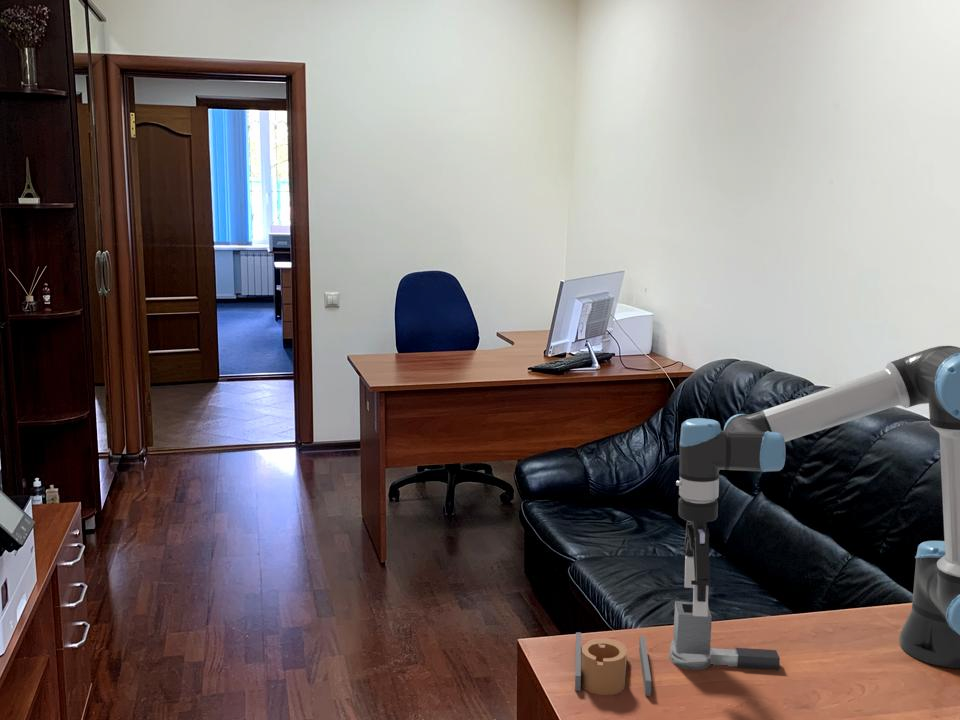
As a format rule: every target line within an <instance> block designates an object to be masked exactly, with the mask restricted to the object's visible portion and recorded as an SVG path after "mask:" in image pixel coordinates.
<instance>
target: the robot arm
mask: <svg viewBox="0 0 960 720" xmlns="http://www.w3.org/2000/svg"><path fill="white" fill-rule="evenodd" d="M925 404H928V412H929V426H930V427H931V428H933V430H935V431H936V432H937V433H938V434H939V449H940V450H939V451H940V453H939V454H940V471H941V473H940V475H941V492H942V495H941V496H942V515H943V536H944V537H943V538H944V540H927V541H923V542H921V543H920V544H918V546H917V551H916V555H915V556H914V558H915V565H914V566H915V569H914V578H913V579H914V580H913V592H912V593H913V594H912V601H911V602H912V603H911V611H910V612H909V614H908V616H907V619H905V622H904V624H903V627H902V628H901V630H900V633H899V641H898V642H899V647H900V648H901V649H902V650H903V652H905V653H907V654H908V655H910V656H911V657H913V658H914V659H916V660H919V661H921V662H924V663H927V664H930V665H932V666H933V665H934V666H938V667H942V668H947V669H948V668H949V669H960V347H959V346H955V345H954V346H953V345H938V346H935V347H930V348H927V349H923V350H922V351H918V352H914V353H912V354H909V355H907V356H904V357H902V358H901V357H900V358H899V359H895V360H893V361H889V362H888V363H887V364H886V365H885V368H884V369H882V370H879V371H876V372H873V373H871V374H868V375H863V376H861V377H858V378H856V379H853V380H849V381H847V382H844V383H841V384H838V385H835V386H832V387H829V388H826V389H823V390H820V391H817V392H813V393H810V394H809V395H805V396H801V397H799V398H796V399H793V400H790V401H787V402H783V403H781V404H778V405H776V406H772V407H769V408H767V409H763V410H760V411H757V412H755V413H750V414H746V413H739V414H737V413H736V414H735V415H732V416H731V417H730V418H728V419H727V421H726V422H725V424H724V427H723V430H722V428H721V424H720V422H719V421H717V420H715V419H710V418H702V417H698V418H697V417H695V418H689V419H686V420H685V421H683V422H682V423H681V427H680V437H679V468H678V469H679V470H678V471H679V474H678V475H679V480H676V481H675V485H676V486H677V487H678V486H679V487H678V489H679V490H678V495H679V496H680V497H679V498H678V510H677V511H678V513H677V514H678V516H679V517H680V518H681V519H682V520H684V521H686V524H685V535H684V544H683V548H684V553H685V556H684V558H685V560H684V588H687V589H688V588H689V589H690V588H691V589H693V592H692V593H693V594H692V602H693V616H704V617H708V607H709V587H710V586H711V584H712V582H711V570H710V569H711V568H710V567H711V566H710V529H709V528H708V524H707V523H709V522H714V521H716V520H717V518H718V515H719V500H717V499H718V498H719V492H720V488H719V487H720V476H719V475H720V473H719V472H720V470H723V471H743V472H744V471H745V472H746V471H747V472H763V473H766V472H781V470H783V469H784V466H785V462H786V443H787V442H790V441H792V440H795V439H799V438H801V437H804V436H807V435H811V434H814V433H817V432H820V431H823V430H827V429H829V428H833V427H835V426H839V425H841V424H845V423H848V422H851V421H853V420H854V421H855V420H858V419H861V418H864V417H867V416H869V415H872V414H876V413H879V412H881V411H885V410H888V409H892V408H895V407H897V406H901V407H903V408H906V409H908V408H911V407H914V406H919V405H925Z"/></svg>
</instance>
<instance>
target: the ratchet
mask: <svg viewBox="0 0 960 720" xmlns="http://www.w3.org/2000/svg"><path fill="white" fill-rule="evenodd" d="M669 650H670V651H669V660H670V661H671V663H672V664H674V666H676V667H678V668H680V669H684V670H689V671H701V669H702V670H706V669H708V668H709V667H710V666H711V665H710V664H713V665H712V666H719V665H728V666H727V667H734V666H737V668H739V667H744V668H743V669H754V670H755V669H757V670H769V669H776V670H775V671H780V659H781V658H780V656H779V654H778V651H777V650H776V649H767V648H766V649H763V648H760V649H759V648H749V647H748V648H747V647H735V649H730V648H716V647H715V648H714V647H712V646H711V645H710V655H702V654H687V653H677V652H676V648H675V643H674V639H672V640H671V642H670V649H669ZM709 665H710V666H709ZM708 666H709V667H708ZM707 667H708V668H707ZM705 668H706V669H705Z"/></svg>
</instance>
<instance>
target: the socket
mask: <svg viewBox="0 0 960 720" xmlns="http://www.w3.org/2000/svg"><path fill="white" fill-rule="evenodd" d="M673 616H674V618H673V639H672V640H674V643H675V648H676V652H677V653H687V654H702V655H710V646H711V641H712V639H711V638H712V636H711V635H712V622H713V621H712V619H713V616H712V614H711V611H710V607H709V606H708V617H704V616H693V601H681V600H680V601H679V600H675V601H674V615H673Z"/></svg>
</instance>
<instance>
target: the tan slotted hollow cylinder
mask: <svg viewBox="0 0 960 720" xmlns="http://www.w3.org/2000/svg"><path fill="white" fill-rule="evenodd" d="M627 653H628V649H627V646H626V645H625V644H624V643H622V641H619V640H617V639H612V638H607V637H605V638H604V637H601V638H599V637H597V638H593V639H590V640H588V641H587V642H586V643H584V644H583V645H582V646H581V688H583V689H584V690H585V691H587V692H588V693H591V694H594V695H599V696H612V695H617V694H620V693H622V691H624V689H625V685H626V673H627V671H626V670H627V656H628V654H627Z"/></svg>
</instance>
